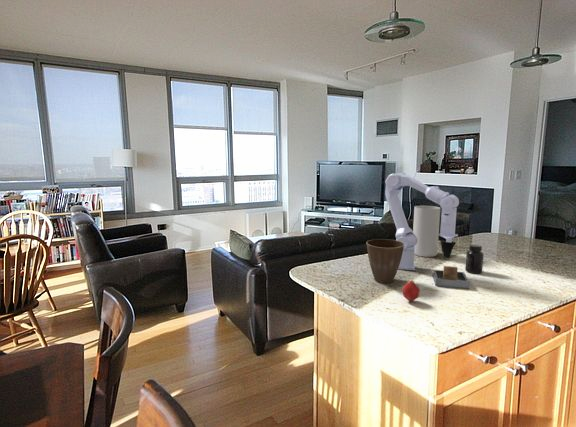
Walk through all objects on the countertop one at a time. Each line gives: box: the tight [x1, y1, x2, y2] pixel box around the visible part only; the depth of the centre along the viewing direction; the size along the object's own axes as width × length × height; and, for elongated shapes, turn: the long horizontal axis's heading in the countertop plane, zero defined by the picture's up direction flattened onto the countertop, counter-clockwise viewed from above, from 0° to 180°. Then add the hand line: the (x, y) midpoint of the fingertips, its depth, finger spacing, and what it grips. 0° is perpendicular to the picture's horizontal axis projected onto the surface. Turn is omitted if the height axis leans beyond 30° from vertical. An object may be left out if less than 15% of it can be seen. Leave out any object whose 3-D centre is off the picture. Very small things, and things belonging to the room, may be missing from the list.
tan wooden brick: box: [442, 265, 459, 279], centre depth 145 cm, size 5×2×6 cm, turn 73°
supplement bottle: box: [464, 244, 485, 275], centre depth 158 cm, size 7×7×12 cm
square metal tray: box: [432, 269, 470, 290], centre depth 145 cm, size 12×12×3 cm
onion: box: [401, 279, 420, 303], centre depth 126 cm, size 6×6×8 cm
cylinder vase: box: [412, 205, 441, 258], centre depth 186 cm, size 12×12×25 cm
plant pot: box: [366, 238, 404, 284], centre depth 147 cm, size 15×15×16 cm
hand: (445, 255), depth 152 cm, fingers open, 7 cm apart
